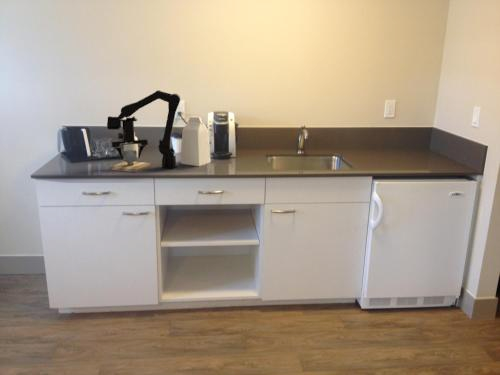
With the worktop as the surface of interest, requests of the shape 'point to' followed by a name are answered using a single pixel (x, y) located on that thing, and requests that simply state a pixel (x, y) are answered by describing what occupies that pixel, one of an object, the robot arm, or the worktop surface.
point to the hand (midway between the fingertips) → (130, 158)
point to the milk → (195, 143)
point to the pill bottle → (132, 146)
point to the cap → (130, 155)
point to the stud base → (130, 166)
